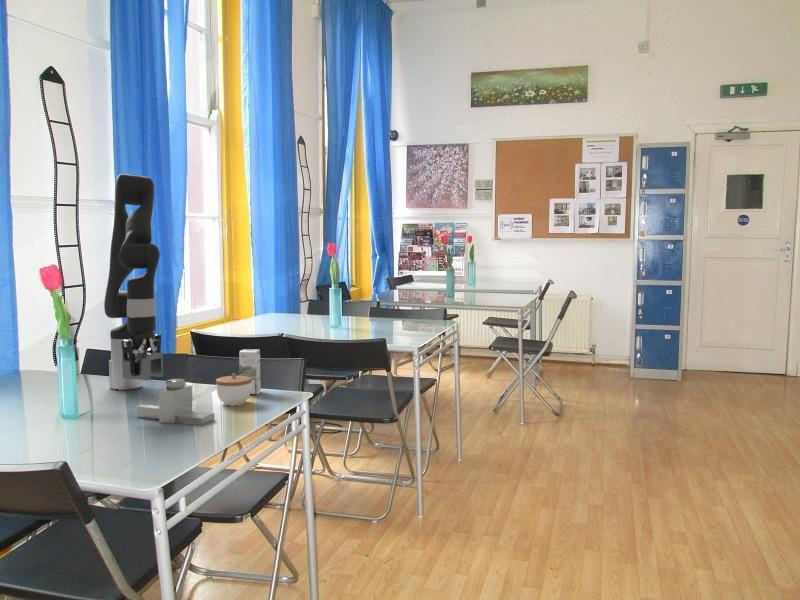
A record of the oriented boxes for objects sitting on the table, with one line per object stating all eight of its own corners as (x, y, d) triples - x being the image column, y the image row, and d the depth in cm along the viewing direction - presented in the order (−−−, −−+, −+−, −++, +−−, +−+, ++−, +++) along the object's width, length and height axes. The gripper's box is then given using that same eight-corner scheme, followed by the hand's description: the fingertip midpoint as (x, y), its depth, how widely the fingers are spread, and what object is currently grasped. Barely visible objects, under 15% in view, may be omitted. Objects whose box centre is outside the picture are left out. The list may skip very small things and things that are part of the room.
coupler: (129, 419, 189) (128, 380, 188) (149, 412, 197) (148, 375, 196) (199, 426, 182) (198, 386, 181) (216, 419, 189) (215, 380, 188)
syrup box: (261, 391, 225) (260, 348, 224) (256, 395, 219) (256, 351, 218) (244, 391, 225) (243, 348, 224) (239, 395, 219) (238, 351, 218)
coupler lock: (120, 378, 191) (119, 353, 190) (135, 374, 196) (134, 350, 196) (149, 380, 187) (148, 355, 187) (163, 376, 193) (162, 352, 193)
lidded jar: (211, 407, 203) (211, 376, 202) (222, 399, 214) (221, 370, 213) (247, 407, 203) (246, 377, 202) (255, 399, 213) (255, 370, 213)
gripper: (147, 311, 198) (149, 368, 200) (111, 316, 185) (113, 377, 186) (169, 312, 196) (170, 369, 197) (134, 317, 182) (136, 379, 184)
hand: (143, 373), depth 192 cm, fingers closed on coupler lock, 6 cm apart
